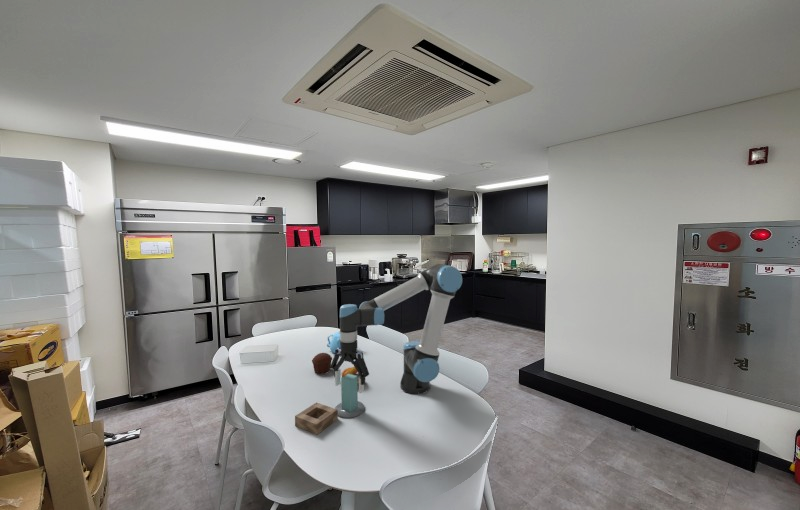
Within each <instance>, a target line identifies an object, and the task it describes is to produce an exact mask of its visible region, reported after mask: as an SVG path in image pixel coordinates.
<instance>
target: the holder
mask: <svg viewBox="0 0 800 510" xmlns="http://www.w3.org/2000/svg"><path fill="white" fill-rule="evenodd" d="M316 417H317V418H316ZM338 419H339V416H338V410H337V409H335V407H331V406H328V405H325V404H323V403H319V402H318V401H317V402H314V403H313V404H312V405H310V406H309V407H307V408H305V409H304V410H303V411H301V412H299V413H297V414H296V415H294V426H295V427H297V428H300V429H302V430H304V431H307V432H310V433H312V434H314V435H319V434H320V433H321V432H322V431H324V430H325V429H326V428H328V427H329V426H330V425H331V424H333V423H334V422H336V421H337V420H338Z"/></svg>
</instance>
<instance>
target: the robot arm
mask: <svg viewBox="0 0 800 510" xmlns="http://www.w3.org/2000/svg"><path fill="white" fill-rule="evenodd" d="M462 284H463V276H462V273H461V271H460V270H459V269H458V268H457V267H454V266H453V265H448V264H443V263H437V264H434V265H432V266H430V267H427V268H426V269H424V270H423V271H421V272H418V274H417V276H415V277H413V278H411V279H409V280H407V281H405V282H404V283H402V284H400V285H398V286H396V287H394V288H392V289H390V290H388V291H386V292H384V293H383V294H379V296H377V297H375V298H373V299H371V300H367V301H363V302H362V303H361V304H359V308H358V305H357V304H353V303H352V304H351V303H348V304H343V305H341V306H340V308H339V331H340V340H341V341H340V348H338V349H336V350H335V353H334V355H333V357H332V361H331V366H330V370H333V376H334V377H333V378H334V379H335V380H334V383H335V384H334V385H335V387H337V386H339V385H341V366H342V365H343V364H344V362H349V363H350V364H352V365H353V367H355V368H356V370H357V373H358V374H359V375H360V377H359V386H358V393H359V394H360V393H362V392H364V391H365V384H366V378H367V377H368V376H370V372H369V369H368V367H367V364H366V360H365V357H364V353H363V352H358V327H367V326H381V325H383V324H384V323H385V311H386V310H388V309H390V308H392V307H393V306H396V305H398V304H399V303H402V302H403V301H406V300H408V299H409V298H411V297H413V296H415V295H417V294H418V293H421V292H422V291H424V290H425V291H429V290H430V293H431V299H430V303H429V305H428V306H429V307H428V310H427V314H426V318H425V321H424V324H423V329H422V333H421V336H420V340H418V341H417V340H415V341H408V342H407V341H406V342H405V343H404V344H403V373H402V377H401V380H400V383H399V384H400V385H399V387H400V390H402V392H404V393H407V394H413V395H419V394H424V393H427V392H428V391H429V390H430V389H431V382H432V381H433V380H435V379H436V378H438V376H439V373H440V364H439V357H440V351H439V349H438V348H439V345H440V343H439V342H440V341H441V336H442V333H443V329H444V324H445V320H446V316H447V313H448V310H449V306H450V302H451V300H452V299H454V298H455V295H456V293H457V291H458V290H460V288H461V287H462Z"/></svg>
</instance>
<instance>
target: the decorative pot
mask: <svg viewBox="0 0 800 510" xmlns="http://www.w3.org/2000/svg"><path fill="white" fill-rule="evenodd" d="M330 337H331V339H330ZM327 341H328V343H327V344H326V346H327V348H329V349H330V351H331V352H332V353H333V354H335V350H336V349H338V348H340V341H341V340H340V330H339V331H338V332H335V333H334V334H329V335H328V336H327Z"/></svg>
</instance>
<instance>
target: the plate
mask: <svg viewBox="0 0 800 510" xmlns="http://www.w3.org/2000/svg"><path fill="white" fill-rule="evenodd" d="M334 409H337V410H338V418H342V419H352V418H357V417H359V416H360V415H362V414H363V413H364V411H365V404H364V403H363V402H361V401H359V400H358V407H357V408H356V409H354V410H353V411H352V412H349V411H346V410H343V409H342V402H340V403H338V404H337V405H336V406H335V407H334Z"/></svg>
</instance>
